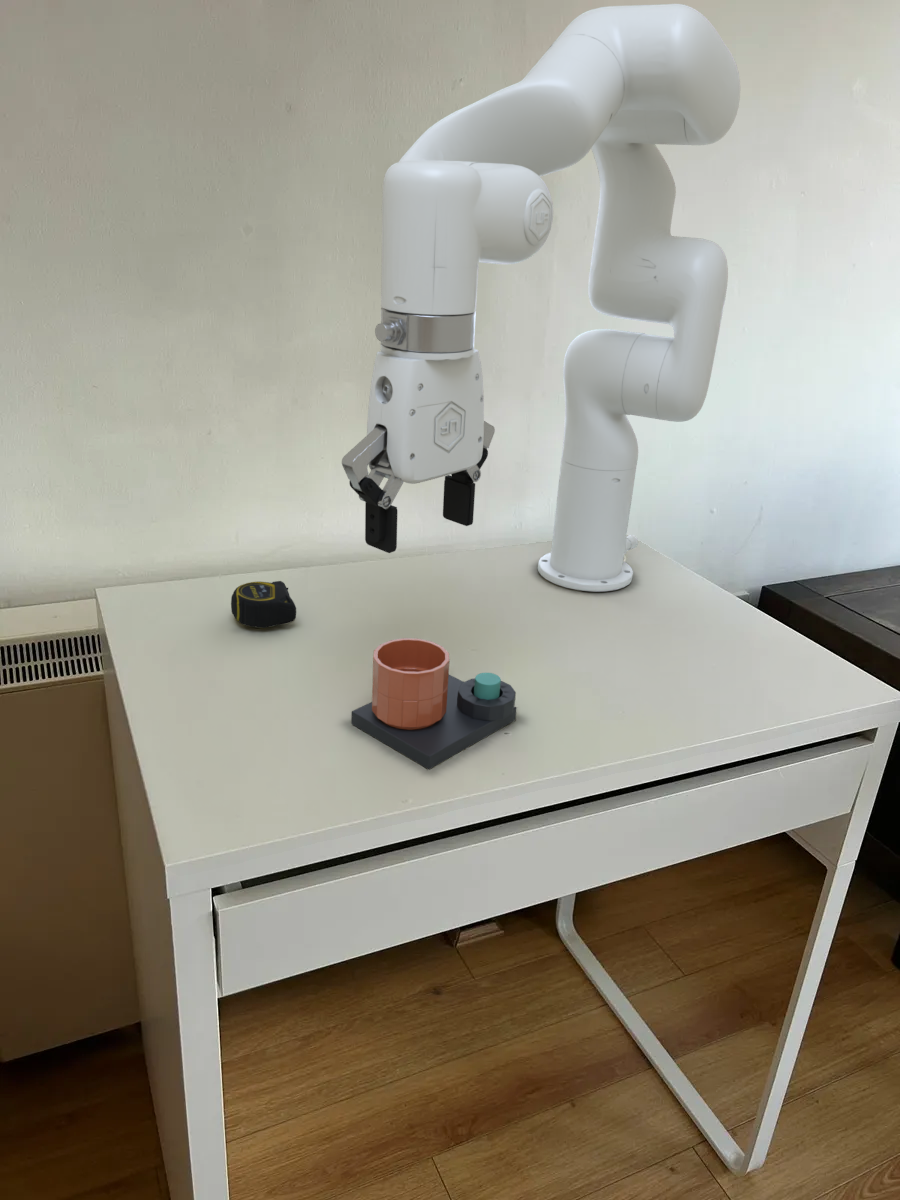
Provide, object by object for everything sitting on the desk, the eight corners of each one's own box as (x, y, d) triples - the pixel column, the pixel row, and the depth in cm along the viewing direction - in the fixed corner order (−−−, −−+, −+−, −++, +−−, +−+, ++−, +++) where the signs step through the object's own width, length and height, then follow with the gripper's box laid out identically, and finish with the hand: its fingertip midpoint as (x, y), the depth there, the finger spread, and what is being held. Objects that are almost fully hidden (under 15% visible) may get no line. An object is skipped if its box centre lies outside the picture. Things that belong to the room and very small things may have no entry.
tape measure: (297, 631, 100) (297, 600, 99) (234, 636, 98) (233, 605, 97) (288, 606, 106) (288, 576, 105) (229, 610, 104) (227, 580, 103)
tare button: (485, 685, 86) (486, 669, 85) (504, 695, 85) (506, 679, 84) (468, 694, 84) (469, 677, 84) (488, 704, 83) (489, 687, 82)
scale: (443, 679, 92) (445, 653, 91) (523, 719, 86) (526, 692, 85) (350, 724, 83) (351, 696, 82) (432, 772, 77) (434, 742, 76)
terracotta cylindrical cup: (408, 686, 88) (411, 631, 85) (460, 714, 84) (464, 656, 81) (356, 711, 83) (357, 653, 80) (409, 741, 79) (411, 681, 76)
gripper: (382, 351, 64) (378, 573, 71) (531, 331, 75) (515, 523, 83) (313, 336, 68) (316, 546, 75) (464, 319, 80) (454, 502, 87)
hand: (420, 534), depth 79 cm, fingers open, 9 cm apart
